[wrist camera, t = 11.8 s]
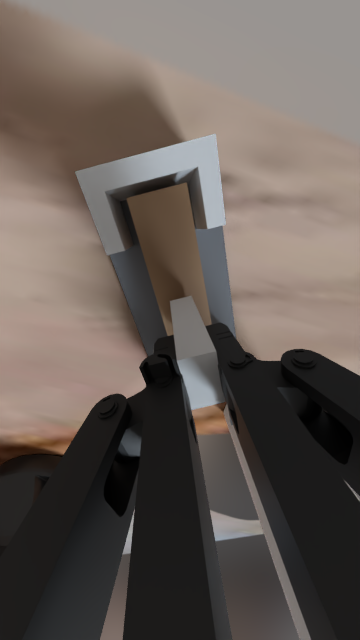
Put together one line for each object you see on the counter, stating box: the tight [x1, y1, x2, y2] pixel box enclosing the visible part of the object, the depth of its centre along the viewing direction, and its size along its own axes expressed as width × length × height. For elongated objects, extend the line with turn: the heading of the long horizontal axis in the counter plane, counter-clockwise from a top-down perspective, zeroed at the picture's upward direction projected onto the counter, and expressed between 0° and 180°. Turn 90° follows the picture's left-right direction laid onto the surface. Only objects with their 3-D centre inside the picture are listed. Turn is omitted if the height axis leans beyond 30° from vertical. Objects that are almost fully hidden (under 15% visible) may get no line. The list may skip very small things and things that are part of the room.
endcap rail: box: [75, 134, 236, 357], centre depth 17 cm, size 10×19×6 cm, turn 13°
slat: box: [126, 182, 212, 336], centre depth 16 cm, size 4×15×5 cm, turn 13°
